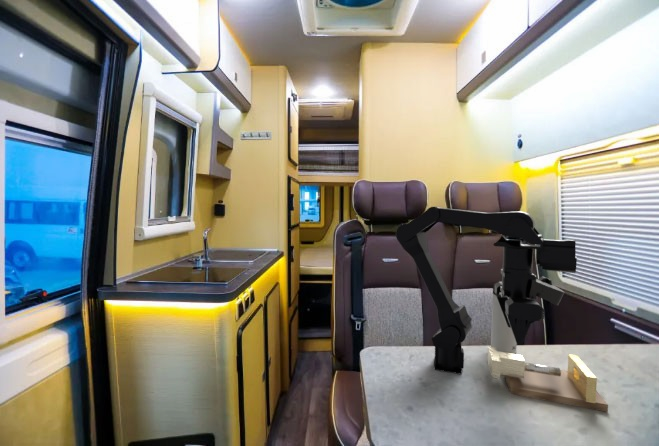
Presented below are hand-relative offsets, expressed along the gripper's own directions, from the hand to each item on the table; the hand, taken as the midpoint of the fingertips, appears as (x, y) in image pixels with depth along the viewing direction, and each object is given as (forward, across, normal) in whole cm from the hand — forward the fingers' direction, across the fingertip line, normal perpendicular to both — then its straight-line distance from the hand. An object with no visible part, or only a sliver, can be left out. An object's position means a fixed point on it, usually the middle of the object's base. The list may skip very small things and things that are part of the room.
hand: (514, 335), depth 69 cm
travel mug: (+12, +17, -1) cm, 21 cm away
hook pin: (+10, +1, -2) cm, 10 cm away
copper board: (+12, +2, -8) cm, 14 cm away
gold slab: (+10, +1, -13) cm, 17 cm away
